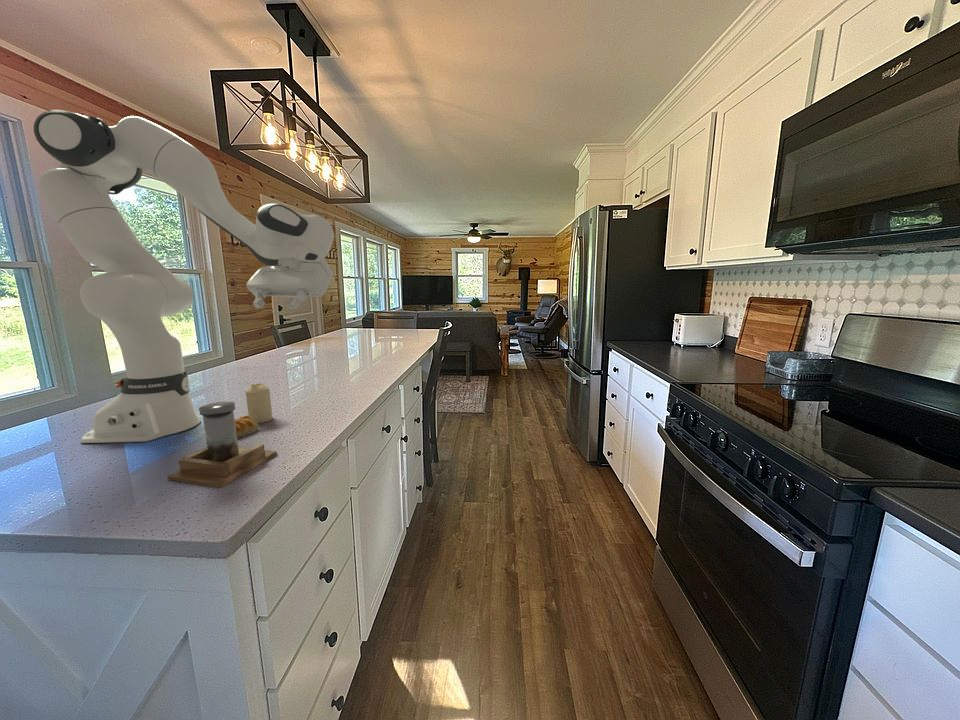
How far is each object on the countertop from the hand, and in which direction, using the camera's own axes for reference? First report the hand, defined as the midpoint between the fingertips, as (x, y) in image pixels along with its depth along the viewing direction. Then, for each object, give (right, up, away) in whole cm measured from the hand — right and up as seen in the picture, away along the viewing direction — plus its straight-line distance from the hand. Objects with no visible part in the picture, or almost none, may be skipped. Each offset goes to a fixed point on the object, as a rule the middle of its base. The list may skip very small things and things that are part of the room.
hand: (274, 306), depth 89 cm
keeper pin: (-3, -33, -12) cm, 36 cm away
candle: (-11, -29, +14) cm, 34 cm away
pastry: (-11, -31, +5) cm, 34 cm away
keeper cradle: (-3, -34, -12) cm, 36 cm away
